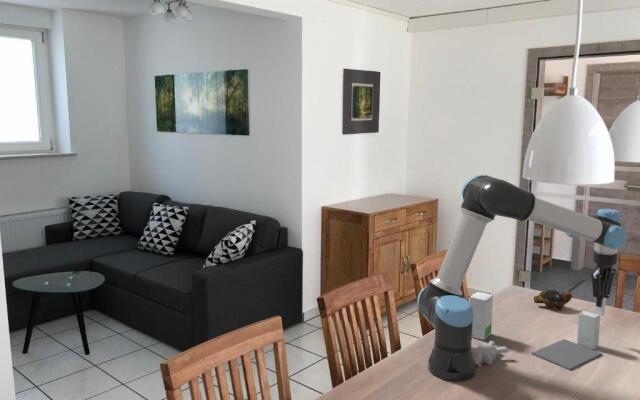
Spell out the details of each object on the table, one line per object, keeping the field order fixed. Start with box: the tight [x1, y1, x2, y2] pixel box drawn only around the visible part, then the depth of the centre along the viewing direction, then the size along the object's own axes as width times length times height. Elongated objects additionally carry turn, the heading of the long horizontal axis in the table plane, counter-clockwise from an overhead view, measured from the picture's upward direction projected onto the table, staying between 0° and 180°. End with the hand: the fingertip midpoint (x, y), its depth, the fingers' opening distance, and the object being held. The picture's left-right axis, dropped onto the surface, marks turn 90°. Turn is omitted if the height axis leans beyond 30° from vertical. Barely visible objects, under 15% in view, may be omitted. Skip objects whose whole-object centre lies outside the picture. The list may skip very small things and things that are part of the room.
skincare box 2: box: [576, 310, 601, 350], centre depth 192 cm, size 6×4×12 cm
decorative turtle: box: [532, 289, 573, 312], centre depth 230 cm, size 10×15×8 cm, turn 77°
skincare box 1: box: [469, 291, 494, 341], centre depth 201 cm, size 8×7×16 cm
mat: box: [531, 338, 603, 371], centre depth 186 cm, size 20×14×1 cm
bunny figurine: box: [471, 340, 509, 367], centre depth 182 cm, size 10×5×15 cm
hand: (599, 314), depth 196 cm, fingers closed
